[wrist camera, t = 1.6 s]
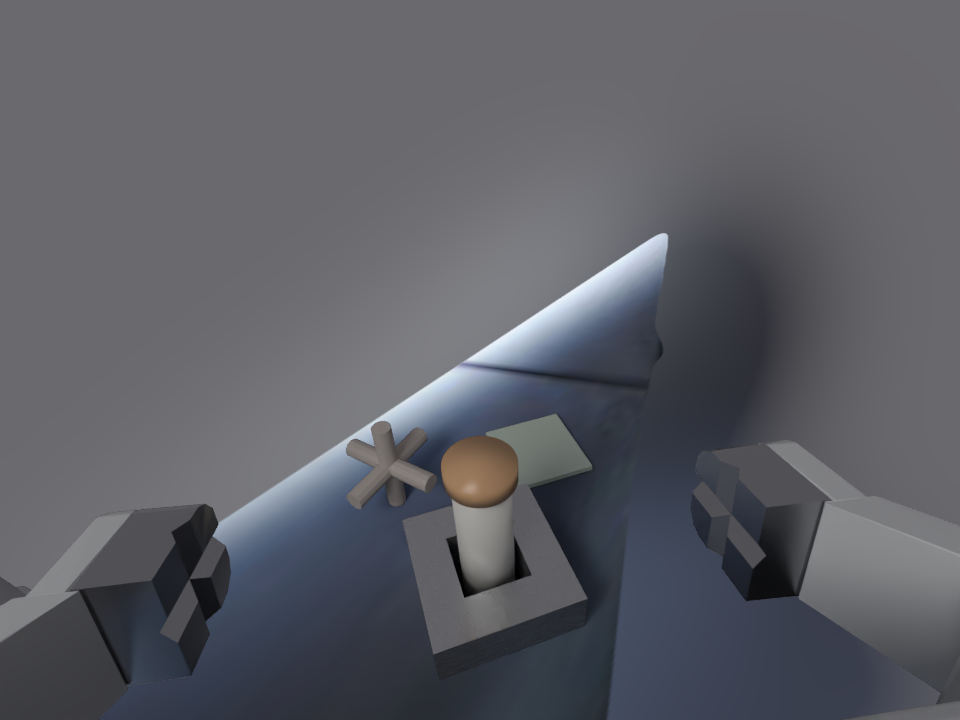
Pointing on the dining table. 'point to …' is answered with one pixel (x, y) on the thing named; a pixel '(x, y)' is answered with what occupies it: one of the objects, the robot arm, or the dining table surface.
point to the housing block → (493, 590)
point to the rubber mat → (543, 450)
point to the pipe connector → (389, 466)
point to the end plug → (483, 509)
